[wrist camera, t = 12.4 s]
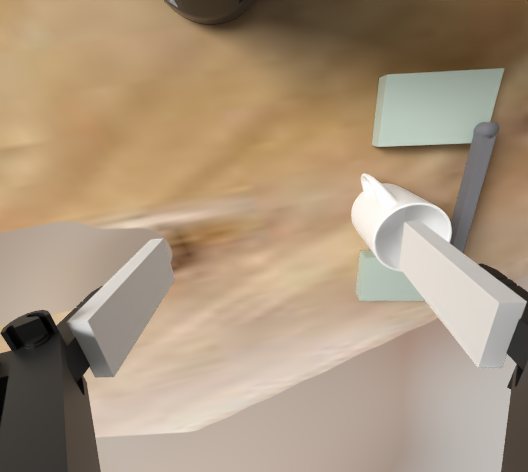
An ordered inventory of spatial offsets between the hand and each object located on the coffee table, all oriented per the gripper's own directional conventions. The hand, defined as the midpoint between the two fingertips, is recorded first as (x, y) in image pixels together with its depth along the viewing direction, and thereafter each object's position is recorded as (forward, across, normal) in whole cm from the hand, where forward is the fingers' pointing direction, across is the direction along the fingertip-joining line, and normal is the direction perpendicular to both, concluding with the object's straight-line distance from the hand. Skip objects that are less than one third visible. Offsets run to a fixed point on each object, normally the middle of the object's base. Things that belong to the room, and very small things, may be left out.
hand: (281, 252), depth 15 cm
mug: (+26, +14, -6) cm, 30 cm away
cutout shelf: (+26, +18, -6) cm, 32 cm away
